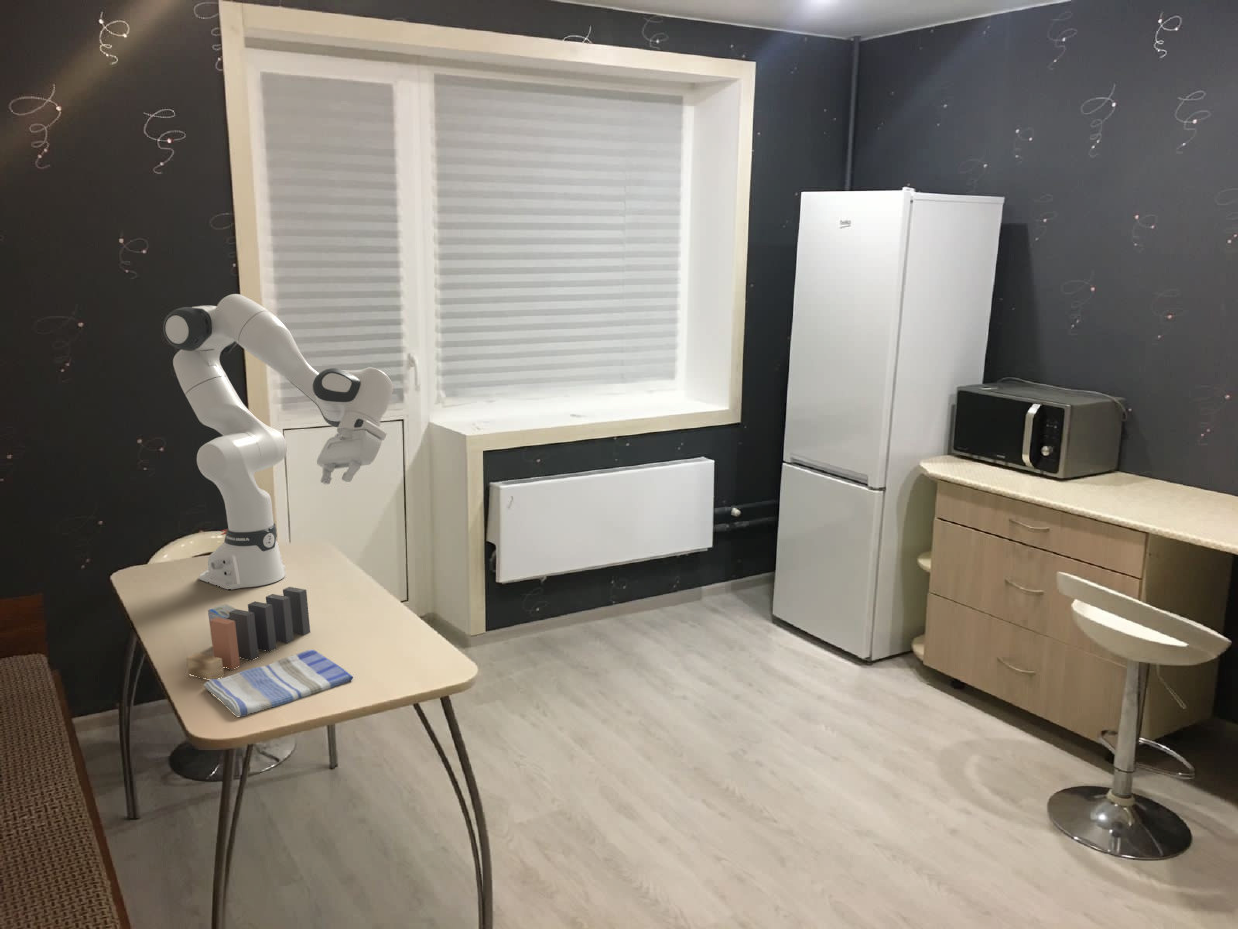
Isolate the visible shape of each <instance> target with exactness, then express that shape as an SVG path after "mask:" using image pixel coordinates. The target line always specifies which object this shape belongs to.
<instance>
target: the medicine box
mask: <svg viewBox="0 0 1238 929" xmlns="http://www.w3.org/2000/svg"><path fill="white" fill-rule="evenodd" d="M236 609H237V608H235V607H233V606H231V605H229V604H223V605H219V606H215V607H213V608H210V609H208V610H207V612H208V622H209V624H210V620H212V619H214V618H217V617H219V618H223V619H228V620H230V617H229V612H231V611H233V610H236ZM209 630H210V632H211V629H210V628H209ZM210 638H211V640H212V637H211V636H210Z"/></svg>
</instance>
